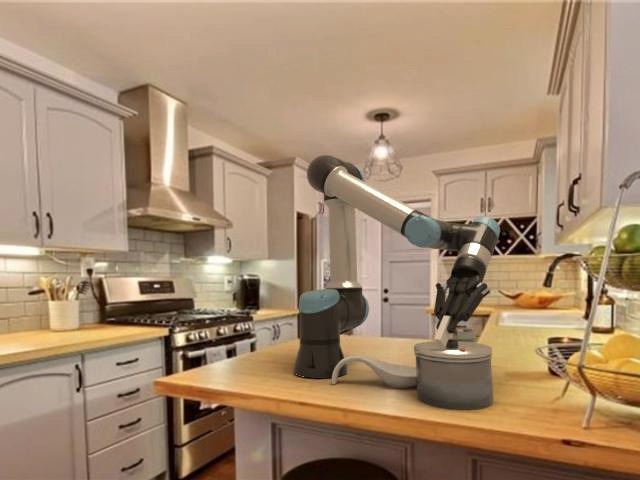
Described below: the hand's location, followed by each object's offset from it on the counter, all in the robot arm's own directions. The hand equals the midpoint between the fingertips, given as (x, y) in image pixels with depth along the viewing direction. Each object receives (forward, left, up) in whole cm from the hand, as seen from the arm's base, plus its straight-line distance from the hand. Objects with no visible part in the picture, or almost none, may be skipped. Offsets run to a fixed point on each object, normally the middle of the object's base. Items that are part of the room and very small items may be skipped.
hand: (439, 343), depth 88 cm
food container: (-31, +32, -13) cm, 46 cm away
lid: (-2, +5, -2) cm, 6 cm away
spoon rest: (-20, -5, -13) cm, 24 cm away
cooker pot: (-2, +5, -13) cm, 14 cm away
